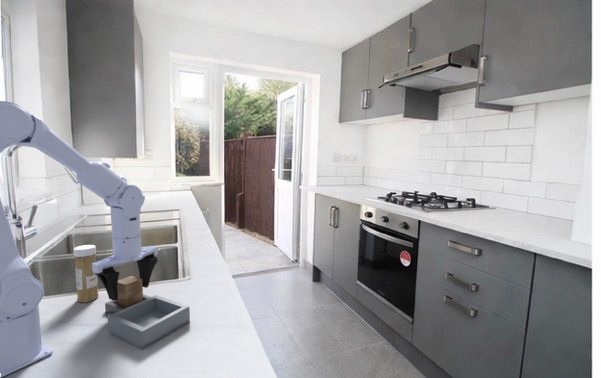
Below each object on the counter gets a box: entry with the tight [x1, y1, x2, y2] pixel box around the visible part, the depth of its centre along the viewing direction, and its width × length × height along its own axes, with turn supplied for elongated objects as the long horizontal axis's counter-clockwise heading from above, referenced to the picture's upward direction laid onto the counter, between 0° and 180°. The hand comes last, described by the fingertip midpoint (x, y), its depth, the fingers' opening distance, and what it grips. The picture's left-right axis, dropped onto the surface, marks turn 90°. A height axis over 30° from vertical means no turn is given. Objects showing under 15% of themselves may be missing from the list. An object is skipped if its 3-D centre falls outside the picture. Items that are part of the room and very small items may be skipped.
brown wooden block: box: [116, 275, 144, 308], centre depth 72 cm, size 4×4×7 cm
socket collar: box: [104, 293, 152, 315], centre depth 72 cm, size 7×7×2 cm
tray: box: [107, 294, 191, 350], centre depth 64 cm, size 11×11×4 cm
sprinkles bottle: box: [72, 244, 100, 303], centre depth 76 cm, size 5×5×13 cm
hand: (129, 292), depth 72 cm, fingers open, 7 cm apart
